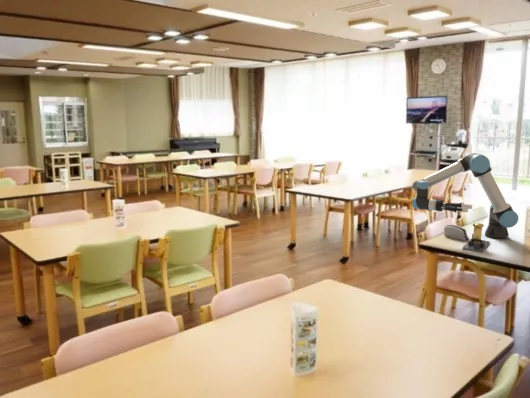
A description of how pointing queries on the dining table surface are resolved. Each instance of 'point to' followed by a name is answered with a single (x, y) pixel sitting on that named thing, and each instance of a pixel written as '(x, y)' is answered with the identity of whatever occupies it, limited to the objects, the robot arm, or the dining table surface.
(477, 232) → the coupler
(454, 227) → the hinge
